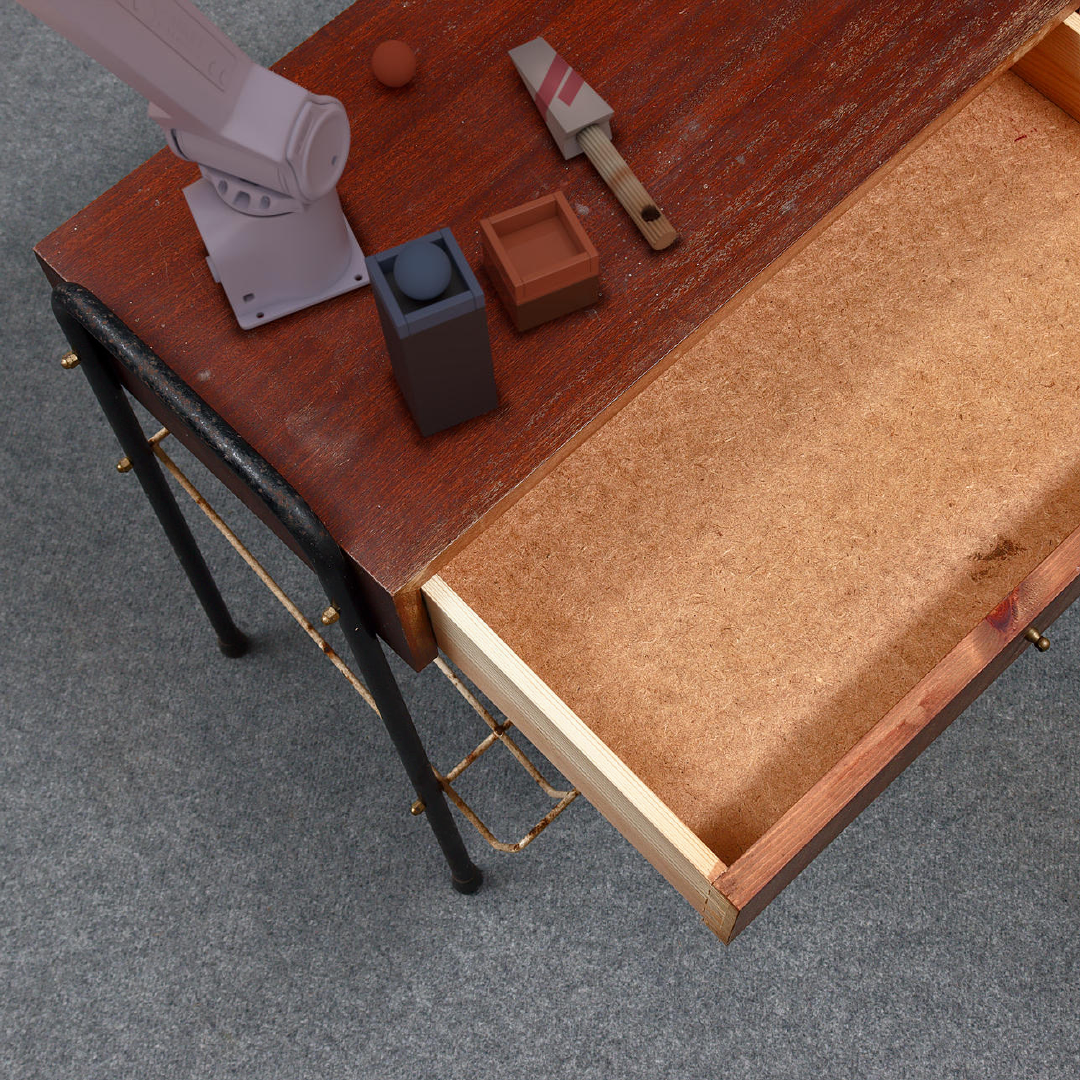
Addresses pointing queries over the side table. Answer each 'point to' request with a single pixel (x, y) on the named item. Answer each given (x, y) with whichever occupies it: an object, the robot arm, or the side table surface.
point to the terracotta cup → (540, 260)
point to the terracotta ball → (394, 63)
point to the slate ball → (422, 270)
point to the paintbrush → (586, 131)
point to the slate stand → (437, 340)
